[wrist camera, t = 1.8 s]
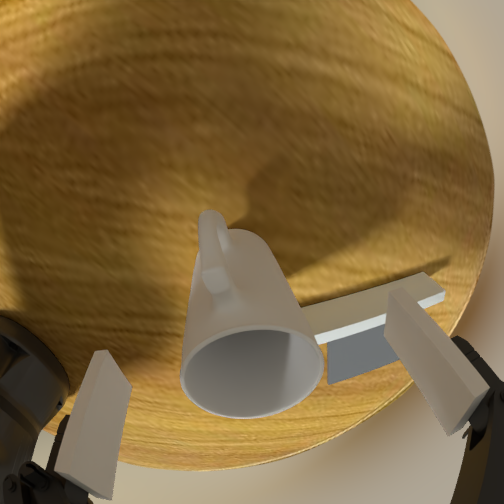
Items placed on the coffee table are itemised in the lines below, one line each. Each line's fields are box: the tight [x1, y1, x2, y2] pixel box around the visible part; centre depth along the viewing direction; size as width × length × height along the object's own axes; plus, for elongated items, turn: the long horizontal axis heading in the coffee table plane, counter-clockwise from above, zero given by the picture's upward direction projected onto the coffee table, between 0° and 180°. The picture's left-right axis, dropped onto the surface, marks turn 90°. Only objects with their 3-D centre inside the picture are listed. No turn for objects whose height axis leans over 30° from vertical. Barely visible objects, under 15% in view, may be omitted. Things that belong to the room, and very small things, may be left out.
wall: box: [301, 272, 445, 345], centre depth 24 cm, size 22×1×4 cm, turn 101°
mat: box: [327, 324, 399, 385], centre depth 29 cm, size 11×11×1 cm
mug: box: [180, 209, 324, 419], centre depth 17 cm, size 10×7×12 cm, turn 15°
